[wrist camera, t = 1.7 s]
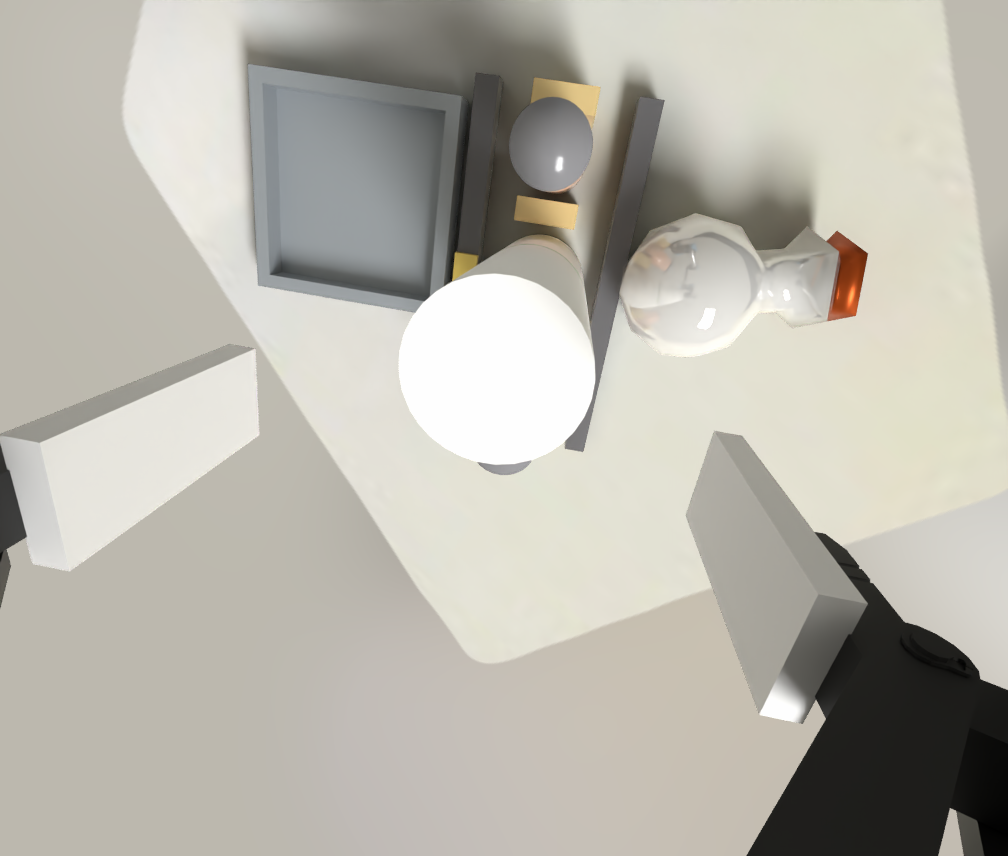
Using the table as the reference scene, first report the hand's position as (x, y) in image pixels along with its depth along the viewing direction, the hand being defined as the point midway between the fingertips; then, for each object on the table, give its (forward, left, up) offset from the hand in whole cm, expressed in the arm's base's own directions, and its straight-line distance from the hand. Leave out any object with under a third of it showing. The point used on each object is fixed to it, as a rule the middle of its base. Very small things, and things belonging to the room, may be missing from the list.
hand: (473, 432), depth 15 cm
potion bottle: (-3, +13, -30) cm, 33 cm away
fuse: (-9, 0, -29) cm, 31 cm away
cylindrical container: (0, 0, -30) cm, 30 cm away
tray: (-4, -15, -29) cm, 33 cm away
